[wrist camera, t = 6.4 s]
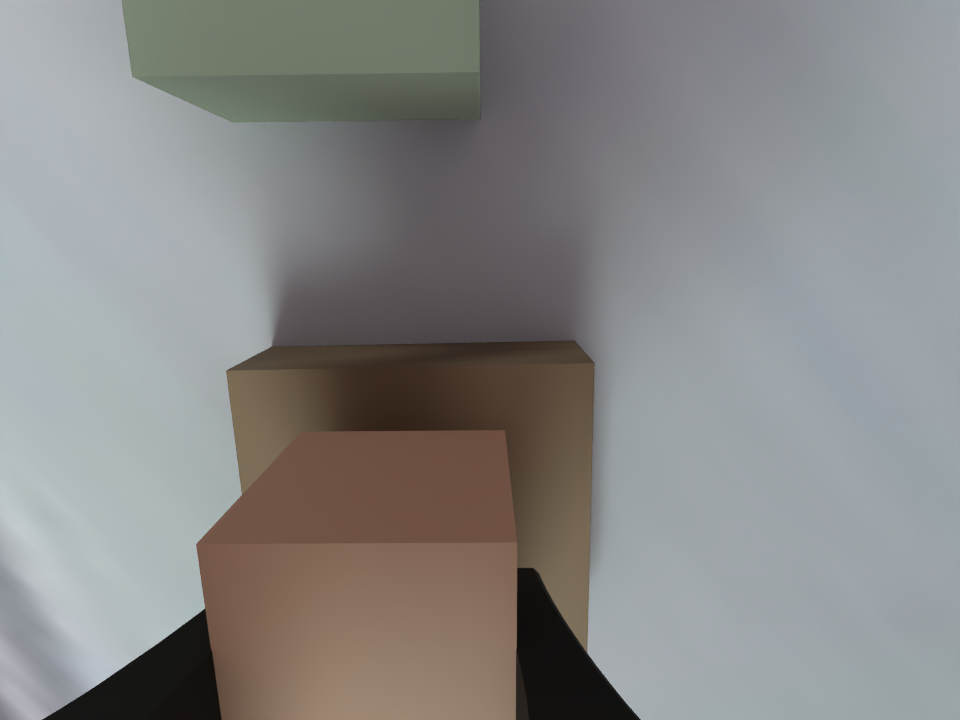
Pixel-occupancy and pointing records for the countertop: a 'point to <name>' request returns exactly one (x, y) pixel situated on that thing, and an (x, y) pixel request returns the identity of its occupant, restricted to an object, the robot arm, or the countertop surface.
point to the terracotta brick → (368, 581)
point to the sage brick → (311, 57)
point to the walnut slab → (447, 427)
